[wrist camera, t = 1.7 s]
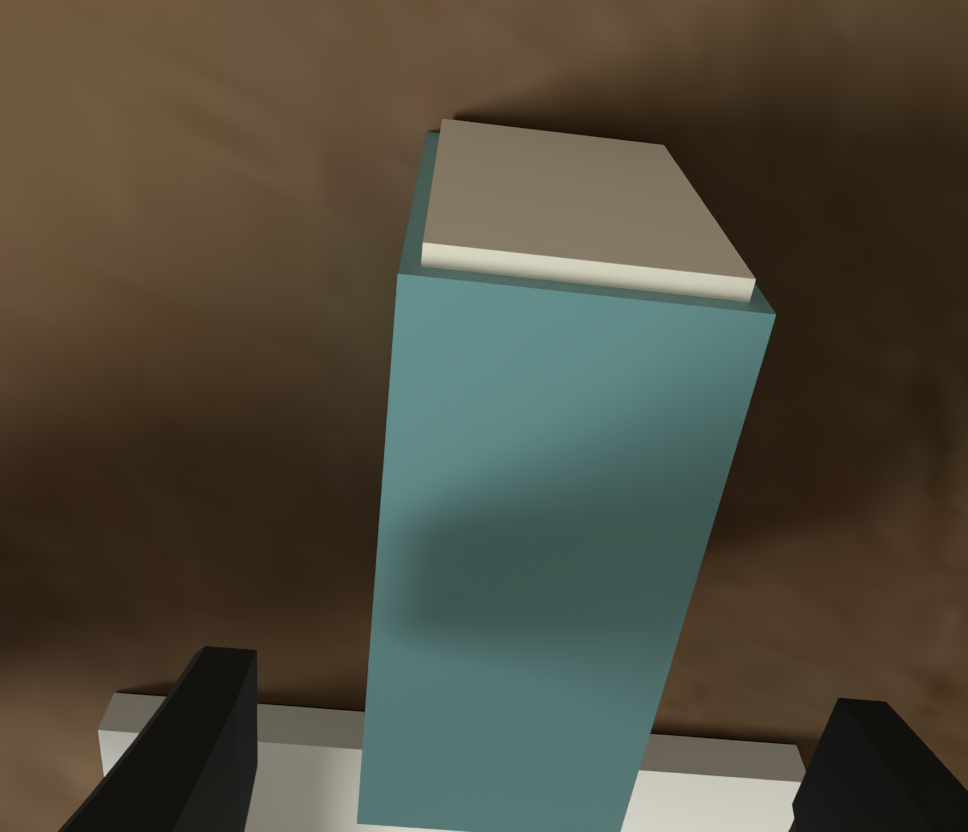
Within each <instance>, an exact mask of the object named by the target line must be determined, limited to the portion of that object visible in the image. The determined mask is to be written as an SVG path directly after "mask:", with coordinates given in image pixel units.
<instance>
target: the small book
mask: <svg viewBox="0 0 968 832" xmlns="http://www.w3.org/2000/svg"><path fill="white" fill-rule="evenodd" d="M755 281H756V279H755V277H754V276H753V274H752V273H751V271H750V270H749V268H748V267H747V266H746V264H745V263H744V261H743V260H742V258H741V257H740V255H739V254H738V252H737V251H736V249H735V248H734V247H733V245H732V244H731V242H730V241H729V239H728V238H727V236H726V235H725V233H724V232H723V231H722V229H721V228H720V226H719V225H718V223H717V222H716V220H715V219H714V217H713V216H712V215H711V213H710V212H709V210H708V209H707V207H706V206H705V204H704V203H703V201H702V200H701V198H700V197H699V196H698V194H697V193H696V191H695V190H694V188H693V187H692V185H691V184H690V182H689V181H688V180H687V178H686V177H685V175H684V174H683V172H682V171H681V169H680V168H679V166H678V165H677V163H676V162H675V161H674V159H673V158H672V156H671V155H670V153H669V152H668V150H667V149H666V147H665V146H664V145H659V144H651V143H642V142H634V141H626V140H617V139H609V138H600V137H592V136H584V135H575V134H567V133H558V132H550V131H542V130H533V129H525V128H516V127H508V126H500V125H491V124H483V123H474V122H466V121H458V120H449V119H442V122H441V128H440V133H437V132H428V131H427V134H426V139H425V144H424V149H423V153H422V158H421V163H420V168H419V173H418V178H417V183H416V187H415V192H414V197H413V202H412V207H411V212H410V216H409V221H408V226H407V231H406V236H405V241H404V246H403V250H402V255H401V260H400V265H399V270H398V277H397V290H396V303H395V317H394V330H393V344H392V357H391V370H390V384H389V397H388V411H387V424H386V437H385V451H384V464H383V478H382V491H381V504H380V518H379V531H378V545H377V558H376V571H375V585H374V598H373V612H372V625H371V638H370V652H369V665H368V679H367V692H366V705H365V719H364V732H363V746H362V759H361V772H360V786H359V799H358V813H357V824H366V825H380V826H394V827H408V828H422V829H437V830H451V831H465V832H621V828H622V825H623V822H624V818H625V815H626V812H627V808H628V805H629V802H630V798H631V795H632V792H633V789H634V785H635V782H636V779H637V775H638V772H639V769H640V765H641V762H642V759H643V755H644V752H645V749H646V745H647V742H648V739H649V735H650V732H651V729H652V725H653V722H654V719H655V716H656V712H657V709H658V706H659V702H660V699H661V696H662V692H663V689H664V686H665V682H666V679H667V676H668V672H669V669H670V666H671V662H672V659H673V656H674V652H675V649H676V646H677V643H678V639H679V636H680V633H681V629H682V626H683V623H684V619H685V616H686V613H687V609H688V606H689V603H690V599H691V596H692V593H693V589H694V586H695V583H696V579H697V576H698V573H699V570H700V566H701V563H702V560H703V556H704V553H705V550H706V546H707V543H708V540H709V536H710V533H711V530H712V526H713V523H714V520H715V516H716V513H717V510H718V506H719V503H720V500H721V497H722V493H723V490H724V487H725V483H726V480H727V477H728V473H729V470H730V467H731V463H732V460H733V457H734V453H735V450H736V447H737V443H738V440H739V437H740V433H741V430H742V427H743V424H744V420H745V417H746V414H747V410H748V407H749V404H750V400H751V397H752V394H753V390H754V387H755V384H756V380H757V377H758V374H759V370H760V367H761V364H762V360H763V357H764V354H765V351H766V347H767V344H768V341H769V337H770V334H771V331H772V327H773V324H774V321H775V317H776V313H775V312H774V310H773V309H772V307H771V306H770V305H769V303H768V302H767V300H766V299H765V297H764V296H763V294H762V293H761V291H760V290H759V288H758V287H757V285H756V284H755Z"/></svg>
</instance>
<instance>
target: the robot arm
mask: <svg viewBox="0 0 968 832" xmlns="http://www.w3.org/2000/svg"><path fill="white" fill-rule="evenodd" d="M257 766H258V737H257V650H247V649H235V648H223V647H210V646H205V647H204V648H202V649H201V650H199V651H198V652H196V654H195V655H194V657H193V658H192V660H191V661H190V663H189V664H188V666H187V668H186V669H185V671H184V672H183V674H182V675H181V676H180V678H179V679H178V681H177V682H176V684H175V685H174V687H173V688H172V690H171V691H170V692H169V694H168V695H167V697H166V698H165V699H164V701H163V702H162V704H161V705H160V706H159V708H158V709H157V710H156V712H155V713H154V714H153V716H152V717H151V718H150V720H149V721H148V722H147V724H146V725H145V726H144V728H143V729H142V730H141V732H140V733H139V734H138V736H137V737H136V738H135V740H134V741H133V742H132V743H131V745H130V746H129V747H128V748H127V750H126V751H125V752H124V753H123V755H122V756H121V757H120V758H119V760H118V761H117V762H116V763H115V765H114V766H113V767H112V768H111V769H110V771H109V772H108V773H107V774H106V776H105V777H104V778H103V779H102V781H101V782H100V783H99V784H98V786H97V787H96V788H95V789H94V791H93V792H92V793H91V794H90V795H89V797H88V798H87V799H86V800H85V801H84V802H83V804H82V805H81V806H80V807H79V808H78V809H77V811H76V812H75V813H74V814H73V815H72V816H71V817H70V818H69V820H68V821H67V822H66V823H65V824H64V825H63V826H62V827H61V828H60V830H59V831H58V832H244V831H245V826H246V821H247V816H248V812H249V807H250V802H251V796H252V791H253V786H254V781H255V776H256V771H257ZM792 809H793V814H794V819H795V824H796V829H797V832H968V791H967V790H966V789H965V788H964V787H963V785H962V784H961V783H960V782H959V781H958V780H957V779H956V778H955V777H954V776H953V774H952V773H951V772H950V771H949V770H948V769H947V768H946V767H945V766H944V764H943V763H942V762H941V761H940V760H939V759H938V758H937V757H936V756H935V754H934V753H933V752H932V751H931V750H930V749H929V748H928V747H927V746H926V745H925V743H924V742H923V741H922V740H921V739H920V738H919V737H918V736H917V735H916V734H915V732H914V731H913V730H912V729H911V728H910V727H909V726H908V725H907V724H906V723H905V722H904V720H903V719H902V718H901V717H900V716H899V715H898V714H897V713H896V712H895V711H894V710H893V709H892V708H891V707H890V706H889V705H888V704H887V702H883V701H871V700H859V699H846V698H838V700H837V702H836V705H835V707H834V709H833V711H832V714H831V716H830V718H829V721H828V723H827V725H826V727H825V730H824V732H823V734H822V736H821V739H820V741H819V743H818V746H817V748H816V750H815V752H814V755H813V757H812V759H811V762H810V764H809V766H808V768H807V771H806V773H805V775H804V777H803V780H802V782H801V784H800V787H799V789H798V791H797V793H796V796H795V798H794V800H793V803H792Z"/></svg>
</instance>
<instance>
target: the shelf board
mask: <svg viewBox="0 0 968 832" xmlns="http://www.w3.org/2000/svg"><path fill="white" fill-rule="evenodd" d="M165 698H166V697H163V696H150V695H137V694H124V693H114V695H113V697H112V700H111V702H110V704H109V706H108V709H107V711H106V713H105V715H104V718H103V720H102V722H101V724H100V727H99V729H98V735H99V742H100V749H101V757H102V764H103V772H104V777H105V776H106V774H107V773H108V772H109V771H110V769H111V768H112V767H113V766H114V765H115V763H116V762H117V761H118V760H119V758H120V757H121V756H122V755H123V753H124V752H125V751H126V750H127V748H128V747H129V746H130V745H131V743H132V742H133V741H134V740H135V738H136V737H137V736H138V734H139V733H140V732H141V730H142V729H143V728H144V726H145V725H146V724H147V722H148V721H149V720H150V718H151V717H152V716H153V714H154V713H155V712H156V710H157V709H158V708H159V706H160V705H161V704H162V702H163V701H164V699H165ZM364 719H365V712H358V711H345V710H332V709H319V708H306V707H293V706H280V705H267V704H257V737H258V766H257V771H256V776H255V781H254V786H253V791H252V796H251V802H250V807H249V812H248V816H247V821H246V826H245V831H244V832H465V831H451V830H437V829H422V828H408V827H394V826H380V825H366V824H357V813H358V799H359V786H360V772H361V759H362V746H363V732H364ZM805 773H806V770H805V768H804V765H803V762H802V760H801V757H800V754H799V751H798V749H797V746H796V745H788V744H775V743H762V742H749V741H736V740H723V739H710V738H697V737H684V736H671V735H658V734H650V735H649V739H648V742H647V745H646V749H645V752H644V755H643V759H642V762H641V765H640V769H639V772H638V775H637V779H636V782H635V785H634V789H633V792H632V795H631V798H630V802H629V805H628V808H627V812H626V815H625V818H624V822H623V825H622V828H621V832H788V831H789V829H790V827H791V825H792V822H793V820H794V814H793V809H792V803H793V800H794V798H795V796H796V793H797V791H798V789H799V787H800V784H801V782H802V780H803V777H804V775H805Z"/></svg>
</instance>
